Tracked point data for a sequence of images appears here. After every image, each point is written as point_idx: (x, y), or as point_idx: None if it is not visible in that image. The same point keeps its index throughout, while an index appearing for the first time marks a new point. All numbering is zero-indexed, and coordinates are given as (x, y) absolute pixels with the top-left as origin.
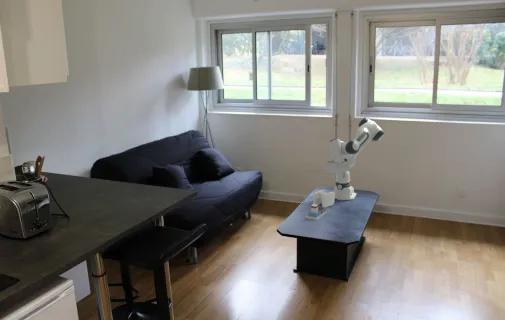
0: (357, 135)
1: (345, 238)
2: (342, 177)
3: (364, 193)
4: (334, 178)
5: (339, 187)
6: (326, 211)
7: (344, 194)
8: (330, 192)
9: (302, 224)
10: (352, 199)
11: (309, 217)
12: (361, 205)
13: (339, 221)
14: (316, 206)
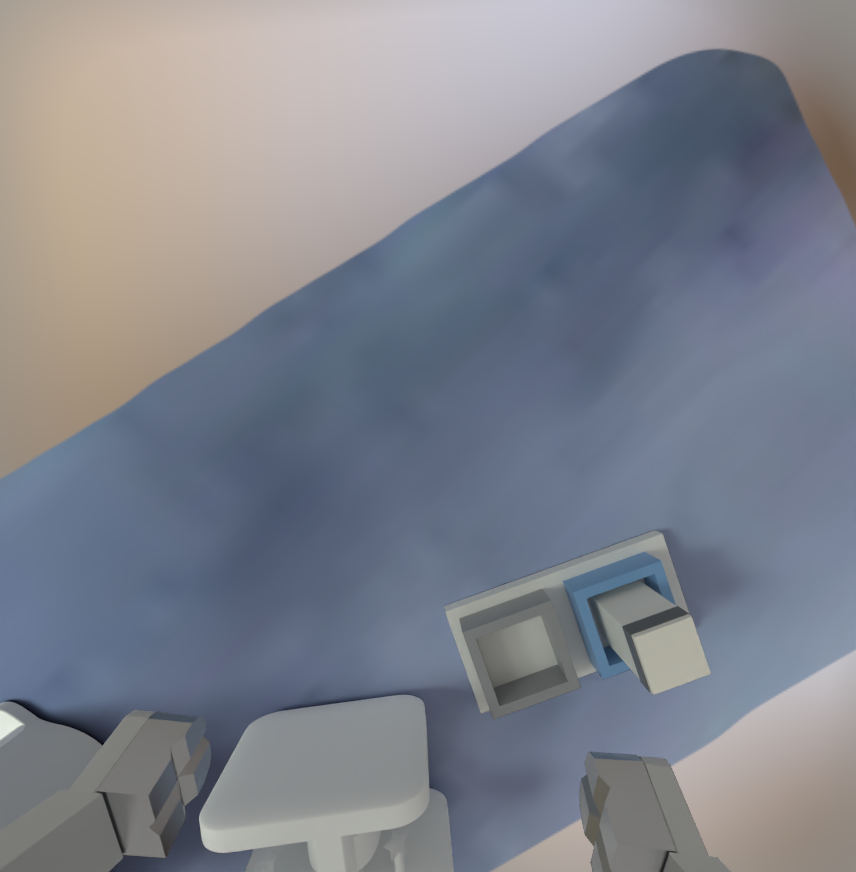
0: None
1: (740, 107)
2: (193, 796)
3: None
4: (674, 787)
5: None
6: (469, 605)
7: (35, 792)
8: (275, 826)
9: (805, 533)
10: (10, 702)
11: (681, 597)
12: (65, 535)
13: (522, 385)
14: (672, 619)
